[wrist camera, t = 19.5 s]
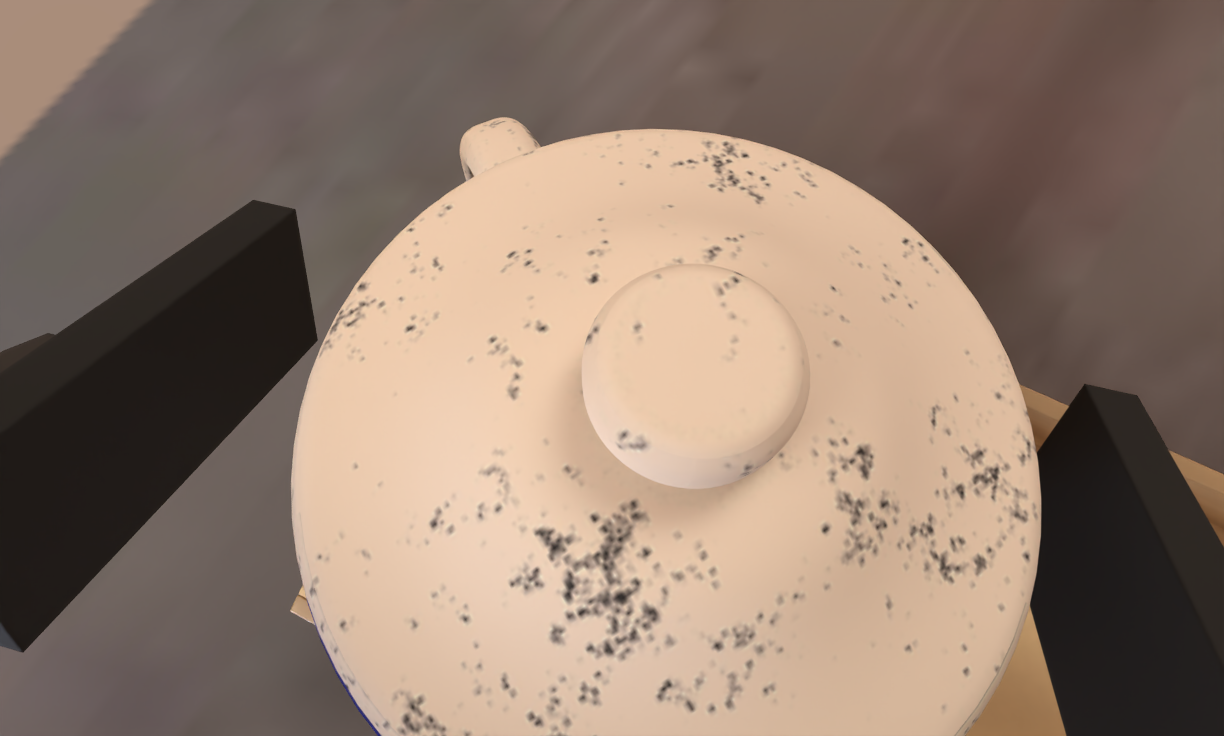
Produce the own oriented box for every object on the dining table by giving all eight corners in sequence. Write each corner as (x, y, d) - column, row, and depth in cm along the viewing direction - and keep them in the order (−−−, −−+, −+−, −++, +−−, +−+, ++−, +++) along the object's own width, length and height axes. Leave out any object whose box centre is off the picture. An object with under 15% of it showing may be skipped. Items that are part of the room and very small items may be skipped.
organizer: (540, 212, 20) (516, 162, 17) (1343, 571, 17) (1507, 598, 14) (354, 584, 19) (288, 611, 16) (1176, 1021, 16) (1309, 1165, 13)
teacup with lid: (898, 635, 16) (1524, 649, 5) (523, 829, 15) (324, 1397, 4) (667, 214, 20) (759, -295, 9) (349, 335, 18) (-8, -94, 7)
